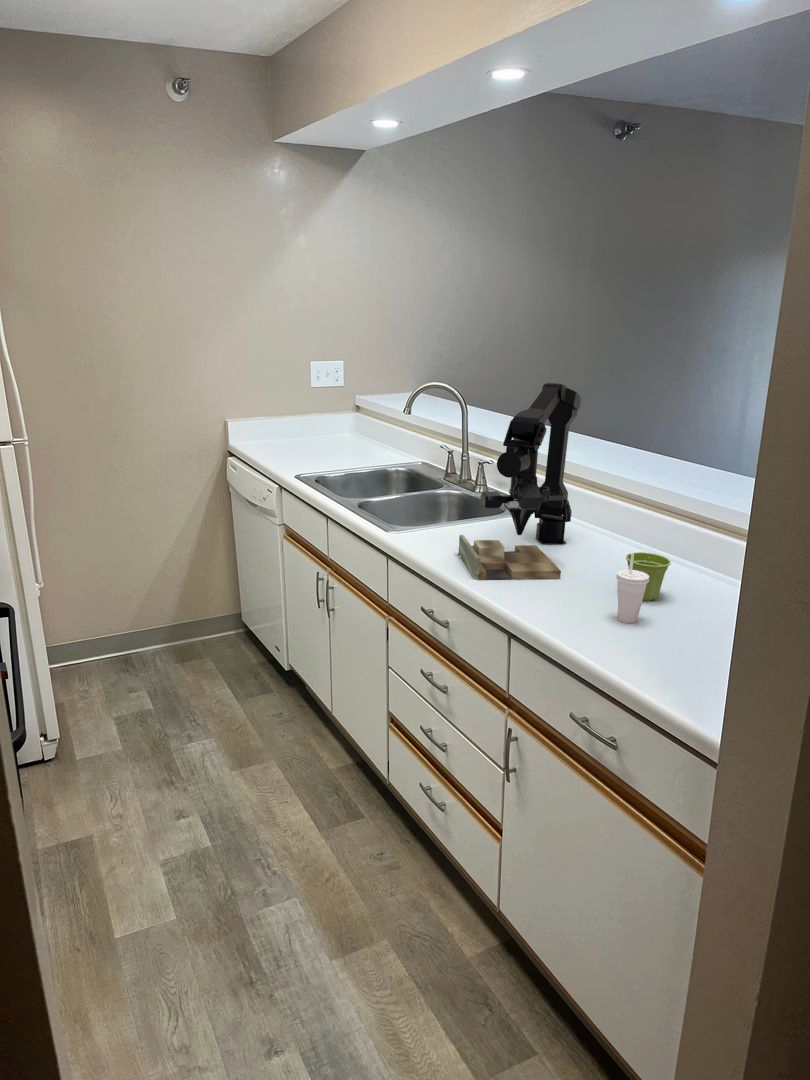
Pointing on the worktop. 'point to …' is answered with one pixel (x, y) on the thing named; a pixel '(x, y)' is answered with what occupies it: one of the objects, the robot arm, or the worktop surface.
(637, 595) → the smoothie
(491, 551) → the birch block
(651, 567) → the plant pot
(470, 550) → the board
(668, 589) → the worktop surface
